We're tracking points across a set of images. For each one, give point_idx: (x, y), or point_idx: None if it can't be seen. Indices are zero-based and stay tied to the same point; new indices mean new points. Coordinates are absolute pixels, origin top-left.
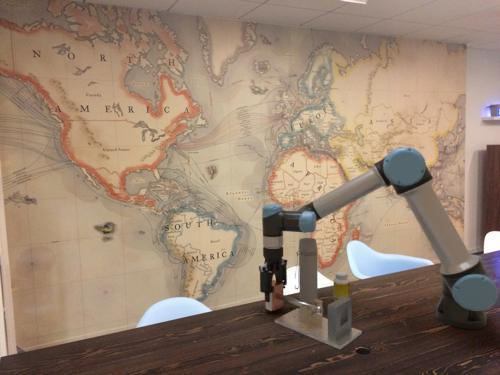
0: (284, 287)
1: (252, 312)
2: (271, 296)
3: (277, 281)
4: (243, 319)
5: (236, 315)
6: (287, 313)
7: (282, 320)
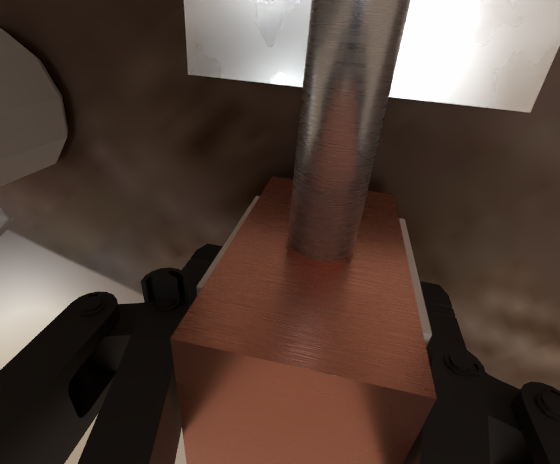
0: (167, 278)
1: None
2: None
3: (191, 419)
4: (555, 323)
5: (509, 374)
6: None
7: (516, 32)
